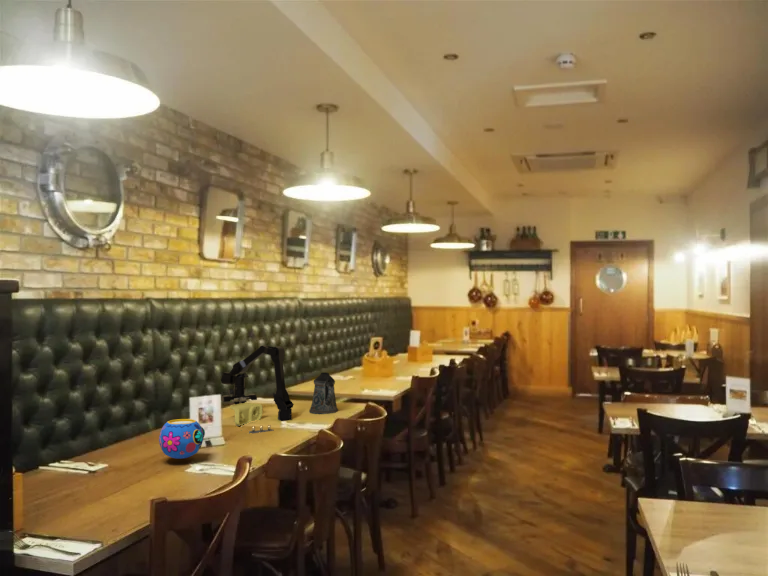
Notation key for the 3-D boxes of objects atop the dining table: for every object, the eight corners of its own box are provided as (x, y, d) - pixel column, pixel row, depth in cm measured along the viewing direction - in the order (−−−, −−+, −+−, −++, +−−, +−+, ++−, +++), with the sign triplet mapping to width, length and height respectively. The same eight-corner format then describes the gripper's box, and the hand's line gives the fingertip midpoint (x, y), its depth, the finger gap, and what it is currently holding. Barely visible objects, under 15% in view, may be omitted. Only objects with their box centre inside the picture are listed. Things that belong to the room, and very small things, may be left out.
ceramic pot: (200, 462, 261) (201, 424, 261) (154, 463, 258) (155, 425, 258) (205, 452, 278) (206, 417, 278) (162, 453, 275) (163, 417, 275)
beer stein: (322, 413, 383) (323, 370, 384) (347, 416, 371) (348, 373, 372) (303, 416, 369) (304, 372, 370) (329, 420, 358) (329, 375, 359)
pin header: (272, 431, 326) (272, 424, 326) (273, 432, 323) (273, 425, 324) (248, 433, 320) (248, 426, 320) (250, 434, 318) (250, 427, 318)
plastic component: (238, 426, 337) (239, 407, 338) (227, 425, 341) (228, 405, 341) (262, 420, 355) (262, 402, 355) (251, 419, 358) (252, 401, 359)
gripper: (251, 382, 372) (251, 410, 372) (219, 384, 363) (218, 412, 363) (257, 385, 362) (256, 413, 362) (224, 386, 354) (223, 415, 353)
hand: (239, 413), depth 360 cm, fingers closed
